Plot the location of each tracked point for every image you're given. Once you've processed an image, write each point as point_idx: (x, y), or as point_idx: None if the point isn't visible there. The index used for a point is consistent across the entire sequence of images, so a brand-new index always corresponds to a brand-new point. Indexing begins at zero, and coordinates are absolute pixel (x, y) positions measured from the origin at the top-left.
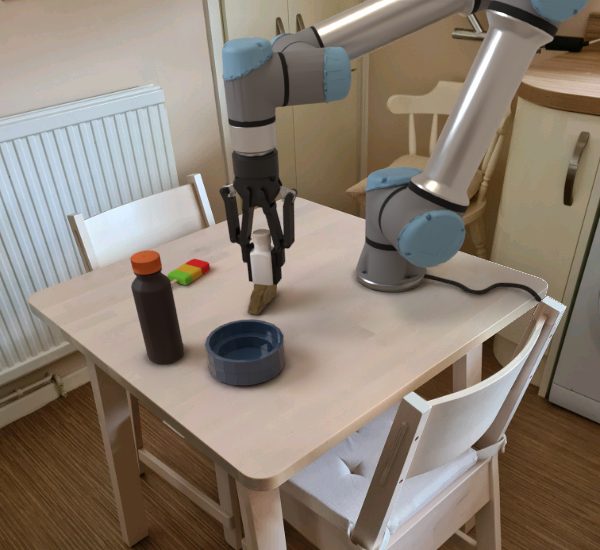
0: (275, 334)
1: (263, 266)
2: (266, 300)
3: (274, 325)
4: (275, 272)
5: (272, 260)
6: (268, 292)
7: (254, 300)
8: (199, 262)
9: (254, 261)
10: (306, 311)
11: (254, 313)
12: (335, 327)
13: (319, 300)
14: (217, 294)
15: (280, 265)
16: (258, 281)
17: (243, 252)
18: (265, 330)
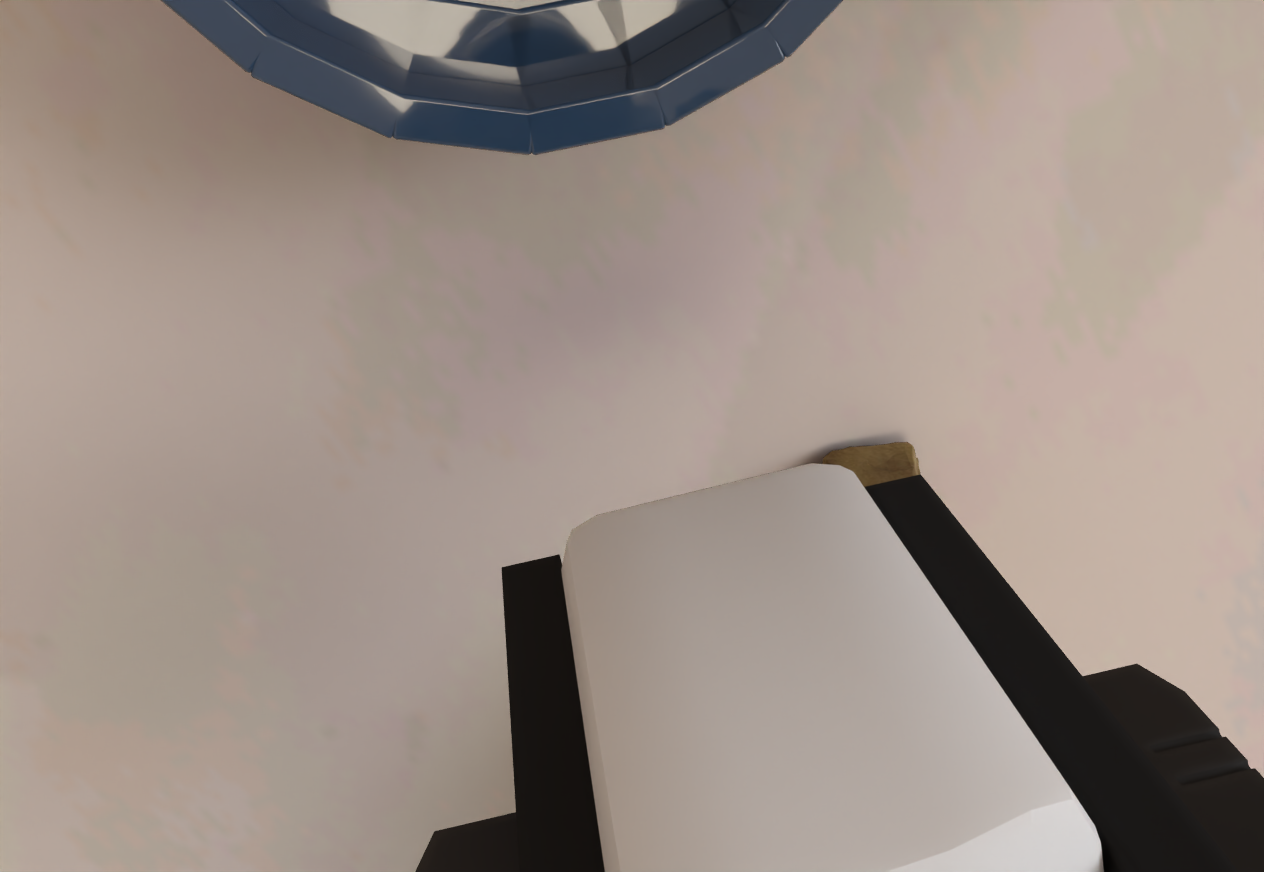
0: (318, 43)
1: (719, 691)
2: None
3: (359, 115)
4: (520, 698)
5: (580, 867)
6: None
7: None
8: None
9: (922, 707)
10: (502, 655)
11: (849, 452)
12: (163, 584)
13: (498, 795)
14: (1231, 548)
15: (458, 844)
16: (762, 493)
17: (1249, 817)
18: (486, 88)
